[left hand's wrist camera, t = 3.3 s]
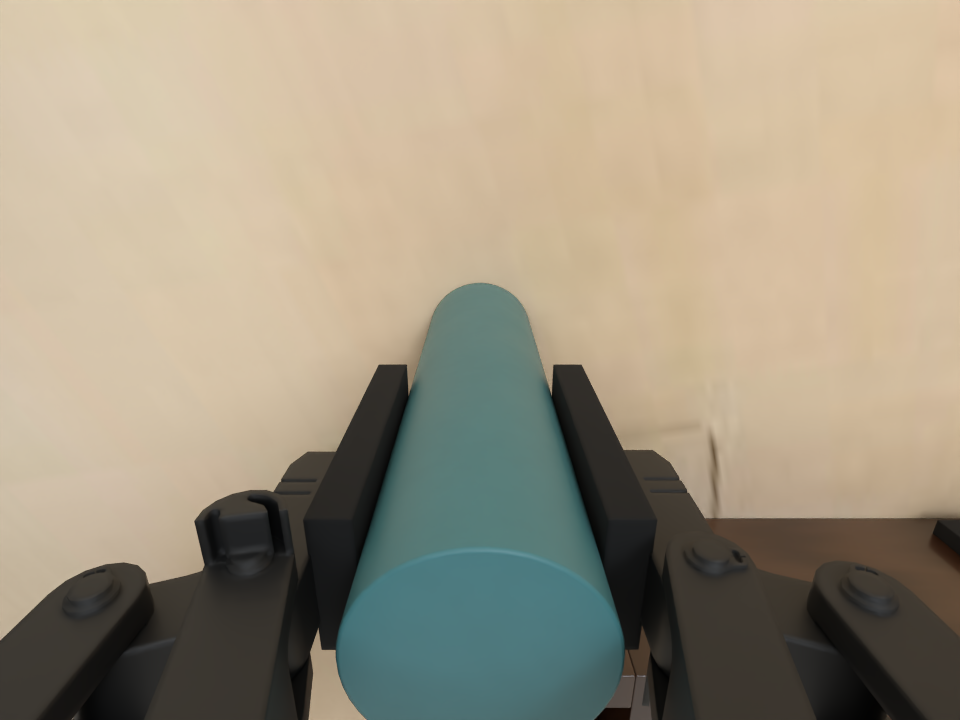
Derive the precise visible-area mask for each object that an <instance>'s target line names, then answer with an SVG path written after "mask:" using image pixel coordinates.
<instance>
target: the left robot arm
mask: <svg viewBox="0 0 960 720" xmlns="http://www.w3.org/2000/svg"><path fill="white" fill-rule="evenodd" d="M552 399H553V402H554V406H555V409H556V412H557V416H558V419H559V422H560V426H561V429H562V432H563V435H564V439H565V442H566V445H567V449H568V452H569V455H570V459H571V462H572V465H573V469H574V472H575V475H576V479H577V482H578V485H579V488H580V492H581V495H582V498H583V502H584V505H585V508H586V512H587V515H588V518H589V522H590V525H591V528H592V532H593V535H594V538H595V541H596V545H597V548H598V551H599V555H600V558H601V561H602V565H603V568H604V571H605V575H606V578H607V581H608V585H609V588H610V591H611V594H612V598H613V601H614V604H615V608H616V611H617V614H618V618H619V621H620V624H621V628H622V632H623V636H624V642H625V650H639V643H640V636H641V630H642V627H643V629H644V632H645V635H646V638H647V641H648V644H649V647H650V655H649V662H648V668H647V674H646V681H645V687H644V694H643V701H642V705H643V706H648V707H649V703H650V707H651V717H652V720H890V718H891V719H892V720H960V637H959V636H958V635H957V634H956V633H955V632H954V631H953V630H952V629H951V628H950V627H949V626H948V625H947V624H946V623H945V622H944V621H943V620H942V619H941V618H939V617H938V616H937V615H936V614H935V613H934V612H933V611H932V610H931V609H930V608H929V607H928V606H927V605H926V604H925V603H924V602H923V601H922V600H921V599H920V598H919V597H917V596H916V595H915V594H914V593H913V592H912V591H911V590H910V589H908V588H907V587H906V586H904V585H903V584H902V583H900V582H899V581H898V580H896V579H895V578H893V577H891V576H889V575H887V574H885V573H883V572H881V571H879V570H877V569H875V568H872V567H869V566H866V565H862V564H859V563H856V562H848V561H838V560H837V561H832V562H827V563H823V564H822V565H821V566H820V567H819V568H818V569H817V570H816V571H815V574H814V578H813V581H812V582H809V581H805V580H800V579H796V578H791V577H787V576H782V575H778V574H774V573H770V572H767V571H764V570H760V569H758V568H757V567H756V565H755V563H754V562H753V560H752V559H751V557H750V556H749V554H748V553H747V552H746V551H744V550H743V549H742V548H741V547H739V546H738V545H737V544H736V543H734V542H732V541H730V540H728V539H726V538H724V537H721V536H719V535H716V534H714V533H713V531H712V529H711V528H710V526H709V525H708V523H707V521H706V520H705V518H704V516H703V515H702V513H701V512H700V510H699V508H698V507H697V505H696V504H695V502H694V500H693V499H692V497H691V496H690V494H689V493H687V489H686V488H685V486H684V484H683V483H682V481H680V480H679V476H678V475H677V473H676V472H675V470H674V468H673V467H672V465H671V464H670V462H668V461H667V460H665V459H664V458H663V457H661V456H660V455H659V454H657V453H656V452H655V451H653V450H623V448H622V446H621V444H620V442H619V440H618V438H617V436H616V434H615V432H614V430H613V428H612V426H611V424H610V422H609V420H608V418H607V416H606V414H605V412H604V410H603V408H602V406H601V404H600V401H599V399H598V397H597V395H596V393H595V391H594V389H593V387H592V385H591V383H590V381H589V379H588V377H587V375H586V373H585V371H584V369H583V367H582V365H553V384H552ZM407 400H408V378H407V365H378V368H377V370H376V372H375V374H374V376H373V378H372V380H371V382H370V384H369V386H368V388H367V390H366V392H365V394H364V396H363V398H362V400H361V402H360V404H359V406H358V408H357V410H356V412H355V414H354V416H353V419H352V421H351V423H350V425H349V427H348V429H347V431H346V433H345V435H344V437H343V439H342V441H341V443H340V445H339V447H338V449H337V451H336V452H307V453H306V454H304V455H303V456H301V457H300V458H299V459H297V460H296V461H295V462H293V463H292V464H291V465H290V466H289V468H288V469H287V471H286V473H285V474H284V476H283V478H282V479H281V482H279V484H278V486H277V487H276V489H275V490H274V492H271V491H267V490H249V491H245V492H240V493H235V494H232V495H229V496H227V497H224V498H222V499H220V500H217V501H215V502H214V503H213V504H211V505H210V506H208V507H207V508H205V509H204V510H203V511H202V512H201V513H200V515H199V516H198V517H197V518H196V520H195V521H194V522H195V526H196V530H197V534H198V539H199V543H200V547H201V551H202V556H203V560H204V564H205V566H204V568H203V571H201V572H197V573H194V574H191V575H187V576H183V577H179V578H174V579H170V580H166V581H161V582H157V583H152V584H149V583H148V580H147V576H146V573H145V572H144V571H143V570H142V569H141V568H140V567H139V566H138V565H133V564H129V563H115V564H106V565H103V566H99V567H96V568H93V569H90V570H87V571H84V572H82V573H80V574H78V575H77V576H75V577H73V578H71V579H69V580H67V581H65V582H64V583H63V584H61V585H60V586H59V587H57V588H56V589H55V590H53V591H52V592H51V593H50V594H48V595H47V596H46V597H45V598H44V599H43V600H42V601H41V602H40V603H39V604H38V605H37V606H36V607H35V608H34V609H33V610H32V611H31V612H30V613H29V614H28V615H27V616H25V617H24V618H23V619H22V620H21V621H20V622H19V623H18V624H17V625H16V626H15V627H14V628H13V629H12V630H11V631H10V632H9V633H8V634H7V635H6V636H5V637H4V638H3V639H2V640H1V641H0V720H308V718H309V709H310V699H311V689H312V679H313V669H312V662H311V655H310V650H311V648H312V645H313V642H314V639H315V636H316V633H317V630H318V627H319V634H320V641H321V648H322V650H336V641H337V636H338V631H339V627H340V623H341V620H342V617H343V613H344V610H345V607H346V603H347V600H348V597H349V593H350V590H351V587H352V583H353V580H354V577H355V573H356V570H357V567H358V563H359V560H360V557H361V553H362V550H363V547H364V543H365V540H366V537H367V533H368V530H369V527H370V523H371V520H372V517H373V513H374V510H375V507H376V503H377V500H378V497H379V493H380V490H381V487H382V483H383V480H384V477H385V473H386V470H387V467H388V463H389V460H390V457H391V453H392V450H393V447H394V443H395V440H396V437H397V433H398V430H399V427H400V423H401V420H402V417H403V413H404V410H405V407H406V403H407ZM888 716H889V717H890V718H889V717H888Z"/></svg>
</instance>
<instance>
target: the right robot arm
mask: <svg viewBox="0 0 960 720" xmlns="http://www.w3.org/2000/svg"><path fill="white" fill-rule="evenodd" d="M933 534H934V535H935V536H937V537H938V538H939V539H940V540H941V541H943V542H944V543H945V544H946V545H947V546H949V547H950V548H951V549H952V550H954V551H955V552H956V553H957V554H958V555H960V520H937V523H936V525H935V528H934V531H933Z"/></svg>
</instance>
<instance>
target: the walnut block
mask: <svg viewBox="0 0 960 720" xmlns="http://www.w3.org/2000/svg"><path fill="white" fill-rule="evenodd" d="M705 520H706V521H707V523H708V525H709V526H710V528H711V529H712V531H713V533H714V534H716V535H719V536H721V537H724V538H726V539H728V540H730V541H732V542H734V543H736V544H737V545H738V546H739V547H741V548H742V549H743V550H744V551H746V552H747V553H748V554H749V556H750V557H751V559H752V560H753V562H754V563H755V565H756V567H757V568H758V569H760V570H764V571H767V572H770V573H774V574H778V575H782V576H787V577H791V578H796V579H800V580H805V581H809V582H812V581H813V578H814V574H815V571H816V570H817V569H818V568H819V567H820V566H821V565H822V564H823V563H827V562H832V561H837V560H838V561H848V562H856V563H859V564H862V565H866V566H869V567H872V568H875V569H877V570H879V571H881V572H883V573H885V574H887V575H889V576H891V577H893V578H895V579H896V580H898V581H899V582H900V583H902V584H903V585H904V586H906V587H907V588H908V589H910V590H911V591H912V592H913V593H914V594H915V595H916V596H917V597H919V598H920V599H921V600H922V601H923V602H924V603H925V604H926V605H927V606H928V607H929V608H930V609H931V610H932V611H933V612H934V613H935V614H936V615H937V616H938V617H939V618H941V619H942V620H943V621H944V622H945V623H946V624H947V625H948V626H949V627H950V628H951V629H952V630H953V631H954V632H955V633H956V634H957V635H958V636H959V637H960V555H958V554H957V553H956V552H955V551H954V550H952V549H951V548H950V547H949V546H947V545H946V544H945V543H944V542H943V541H941V540H940V539H939V538H938V537H937V536H935V535H934V534H933V531H934V528H935V525H936V523H937V520H960V519H705ZM649 655H650V647H649V644H648V641H647V638H646V635H645V632H644V629H643V627H642V630H641V636H640V643H639V650H625V660H624V669H623V672H622V676H621V679H620V683H619V685H618V687H617V689H616V691H615V693H614V696H613V697H612V699H611V700H610V701H609V703H608V704H607V706H606V707H605V708H604V710H603V711H602V712H601V713H600V714H599V715H598V716H597V717H596V718H595V719H594V720H652V717H651V707H650V703H649V707H648V706H643V705H642V701H643V694H644V687H645V681H646V674H647V668H648V662H649ZM888 717H889V716H888ZM889 718H890V717H889ZM890 720H892V719H891V718H890Z"/></svg>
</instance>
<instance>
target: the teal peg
mask: <svg viewBox="0 0 960 720" xmlns="http://www.w3.org/2000/svg"><path fill="white" fill-rule="evenodd" d="M624 660H625V642H624V636H623V632H622V628H621V624H620V621H619V618H618V614H617V611H616V608H615V604H614V601H613V598H612V594H611V591H610V588H609V585H608V581H607V578H606V575H605V571H604V568H603V565H602V561H601V558H600V555H599V551H598V548H597V545H596V541H595V538H594V535H593V532H592V528H591V525H590V522H589V518H588V515H587V512H586V508H585V505H584V502H583V498H582V495H581V492H580V488H579V485H578V482H577V479H576V475H575V472H574V469H573V465H572V462H571V459H570V455H569V452H568V449H567V445H566V442H565V439H564V435H563V432H562V429H561V426H560V422H559V419H558V416H557V412H556V409H555V406H554V402H553V399H552V396H551V392H550V389H549V386H548V382H547V379H546V376H545V373H544V369H543V366H542V363H541V359H540V356H539V353H538V349H537V346H536V343H535V339H534V336H533V333H532V329H531V326H530V323H529V320H528V316H527V314H526V311H525V309H524V308H523V306H522V304H521V303H520V302H519V301H518V299H517V298H516V297H515V296H514V295H512V294H511V293H510V292H508V291H507V290H505V289H503V288H501V287H498V286H496V285H492V284H486V283H474V284H468V285H465V286H462V287H459V288H457V289H455V290H454V291H452V292H450V293H449V294H448V295H447V296H445V297H444V299H443V300H442V301H441V302H440V303H439V305H438V306H437V308H436V310H435V312H434V314H433V317H432V320H431V323H430V327H429V330H428V333H427V337H426V340H425V343H424V347H423V350H422V353H421V357H420V360H419V363H418V367H417V370H416V373H415V377H414V380H413V383H412V387H411V390H410V393H409V397H408V400H407V403H406V407H405V410H404V413H403V417H402V420H401V423H400V427H399V430H398V433H397V437H396V440H395V443H394V447H393V450H392V453H391V457H390V460H389V463H388V467H387V470H386V473H385V477H384V480H383V483H382V487H381V490H380V493H379V497H378V500H377V503H376V507H375V510H374V513H373V517H372V520H371V523H370V527H369V530H368V533H367V537H366V540H365V543H364V547H363V550H362V553H361V557H360V560H359V563H358V567H357V570H356V573H355V577H354V580H353V583H352V587H351V590H350V593H349V597H348V600H347V603H346V607H345V610H344V613H343V617H342V620H341V623H340V627H339V631H338V636H337V641H336V662H337V668H338V674H339V677H340V680H341V683H342V686H343V688H344V690H345V692H346V694H347V695H348V697H349V699H350V701H351V702H352V703H353V705H354V706H355V707H356V709H357V710H358V711H359V712H360V713H361V714H362V715H363V716H364V717H365V718H366V719H367V720H594V719H595V718H596V717H597V716H598V715H599V714H600V713H601V712H602V711H603V710H604V708H605V707H606V706H607V704H608V703H609V701H610V700H611V699H612V697H613V696H614V693H615V691H616V689H617V687H618V685H619V683H620V679H621V676H622V672H623V669H624Z"/></svg>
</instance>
